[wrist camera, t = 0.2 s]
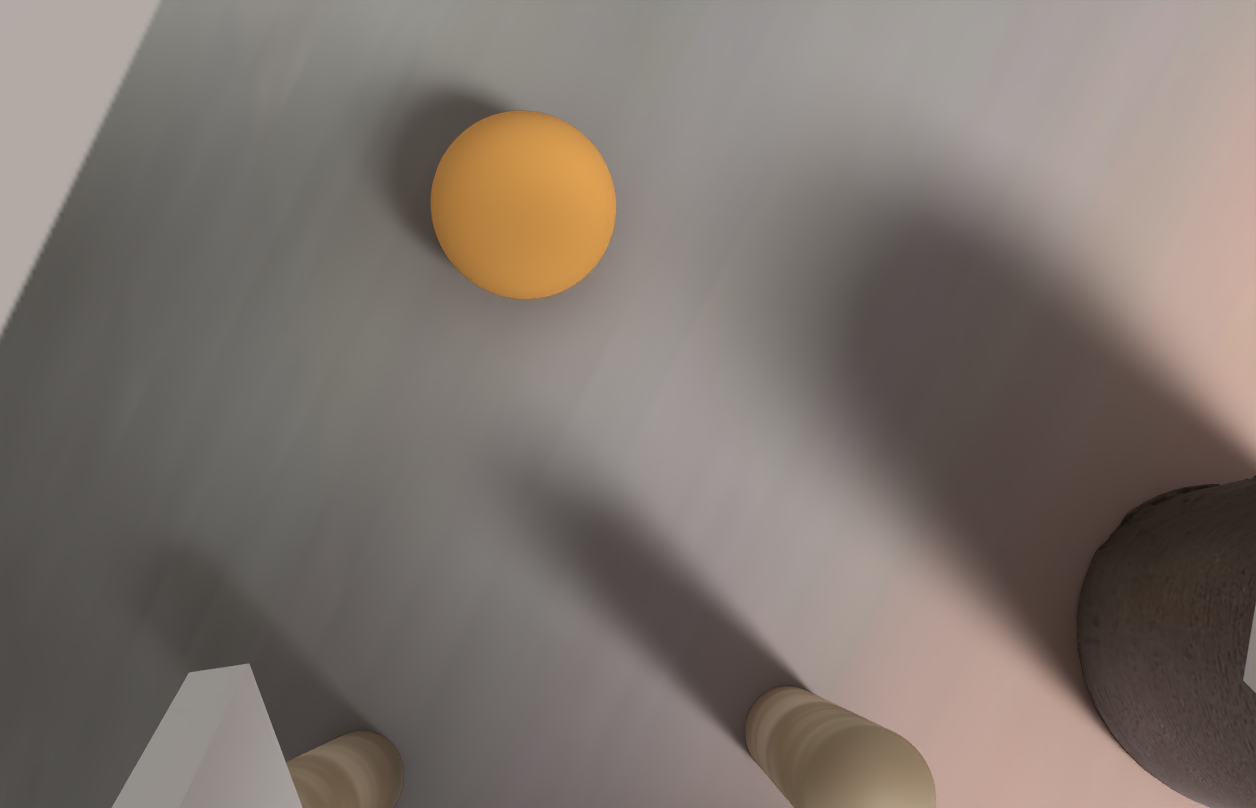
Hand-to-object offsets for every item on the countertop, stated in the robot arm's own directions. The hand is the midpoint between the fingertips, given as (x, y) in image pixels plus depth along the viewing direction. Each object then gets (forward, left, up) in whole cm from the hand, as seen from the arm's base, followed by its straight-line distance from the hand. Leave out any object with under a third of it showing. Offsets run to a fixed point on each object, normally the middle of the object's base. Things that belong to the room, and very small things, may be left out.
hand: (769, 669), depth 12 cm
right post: (-3, -3, -16) cm, 16 cm away
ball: (+13, +4, -13) cm, 19 cm away
